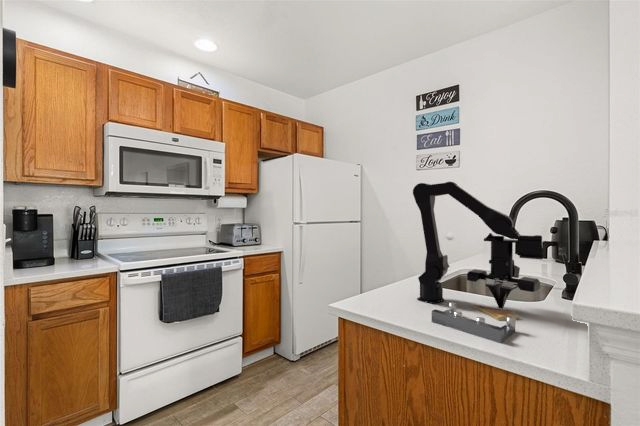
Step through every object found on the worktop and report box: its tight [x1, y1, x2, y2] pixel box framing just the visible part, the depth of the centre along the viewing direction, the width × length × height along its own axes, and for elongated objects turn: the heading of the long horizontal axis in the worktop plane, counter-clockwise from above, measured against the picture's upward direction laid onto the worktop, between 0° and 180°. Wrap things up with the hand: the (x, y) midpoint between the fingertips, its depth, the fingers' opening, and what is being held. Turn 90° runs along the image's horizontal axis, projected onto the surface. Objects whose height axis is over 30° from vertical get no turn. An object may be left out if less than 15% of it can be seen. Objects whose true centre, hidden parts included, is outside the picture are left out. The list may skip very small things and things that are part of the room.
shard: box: [473, 304, 519, 321], centre depth 96 cm, size 11×8×2 cm
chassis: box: [431, 301, 516, 344], centre depth 86 cm, size 18×10×4 cm, turn 39°
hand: (501, 308), depth 97 cm, fingers closed
